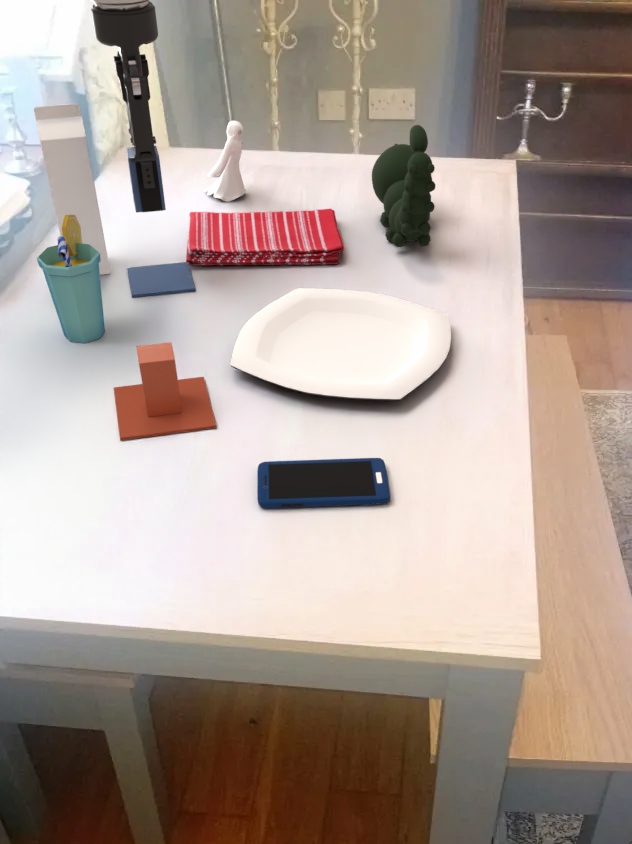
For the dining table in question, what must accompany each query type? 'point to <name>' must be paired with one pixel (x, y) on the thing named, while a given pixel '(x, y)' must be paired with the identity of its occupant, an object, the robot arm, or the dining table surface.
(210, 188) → the figurine
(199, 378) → the terracotta mat
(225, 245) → the dish towel
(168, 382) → the terracotta block
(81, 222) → the milk
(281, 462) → the cell phone
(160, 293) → the blue mat
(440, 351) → the plate
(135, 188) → the blue block
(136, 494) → the dining table surface
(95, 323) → the cup
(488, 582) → the dining table surface
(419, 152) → the toy figurine
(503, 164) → the dining table surface
